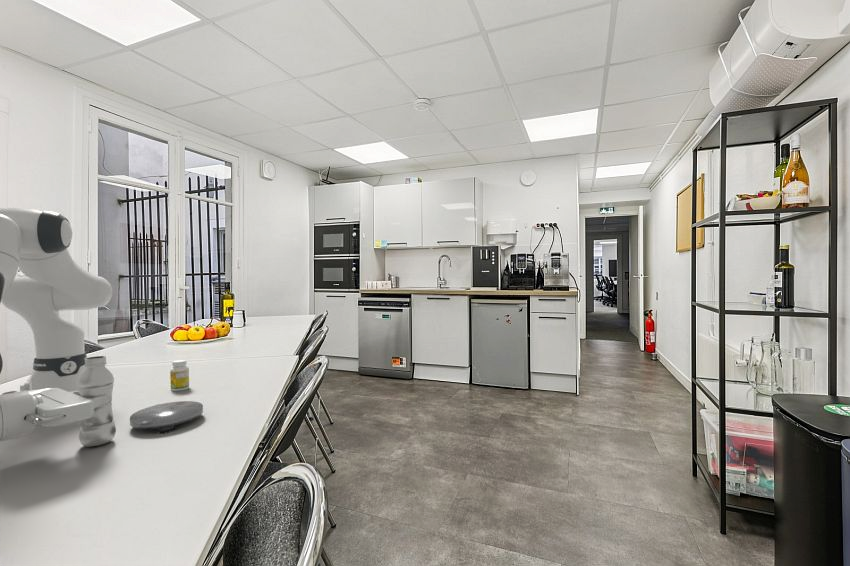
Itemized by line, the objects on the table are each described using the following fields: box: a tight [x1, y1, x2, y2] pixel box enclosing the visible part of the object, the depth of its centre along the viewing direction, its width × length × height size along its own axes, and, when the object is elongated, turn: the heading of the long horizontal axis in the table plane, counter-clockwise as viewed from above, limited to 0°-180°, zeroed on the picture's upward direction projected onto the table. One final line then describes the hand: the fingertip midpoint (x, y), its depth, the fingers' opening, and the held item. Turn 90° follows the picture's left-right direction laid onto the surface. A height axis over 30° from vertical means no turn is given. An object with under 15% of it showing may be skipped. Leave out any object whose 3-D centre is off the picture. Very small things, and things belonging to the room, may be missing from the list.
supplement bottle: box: [169, 359, 190, 392], centre depth 132 cm, size 5×5×10 cm
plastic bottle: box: [77, 355, 117, 448], centre depth 89 cm, size 6×7×20 cm
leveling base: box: [129, 400, 204, 434], centre depth 102 cm, size 16×16×3 cm
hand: (101, 395), depth 90 cm, fingers closed on plastic bottle, 6 cm apart
